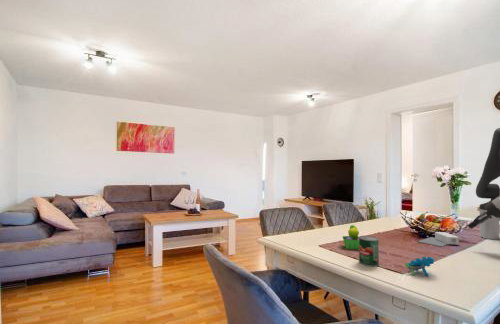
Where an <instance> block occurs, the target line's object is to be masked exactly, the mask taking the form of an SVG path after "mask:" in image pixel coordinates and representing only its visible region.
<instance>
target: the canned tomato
mask: <svg viewBox="0 0 500 324" xmlns="http://www.w3.org/2000/svg"><path fill="white" fill-rule="evenodd" d="M358 237H359V250H358V262H359V264H361V265H363V266H366V267H378V266H379V265H380V261H379V259H380V258H379V257H380V256H379V255H380V253H379V245H380V244H379V241H380V240H379V238H378V237H375V236H370V235H359V236H358Z"/></svg>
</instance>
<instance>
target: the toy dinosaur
mask: <svg viewBox="0 0 500 324" xmlns="http://www.w3.org/2000/svg"><path fill="white" fill-rule="evenodd" d="M434 262H435V259H434V258H433V257H432V256H427V257H426V256H422V257H421V258H419V257H417V258H415V259H414V260H410V262H405V263H404V264H405V267H406V268H407V269H408V270H409V271H411V273H412V275H413V276H416V274H415V271H419V270H422V272H423V274H424V275H425V277H429V275H430V274H429V273H428V271H427V270H426V267H427V268H428V267H431V265H433V264H434Z"/></svg>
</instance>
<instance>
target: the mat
mask: <svg viewBox="0 0 500 324" xmlns="http://www.w3.org/2000/svg"><path fill="white" fill-rule="evenodd" d="M417 243H421V244H426V245H431V246H434V247H435V246H436V247H438V248H439V247H440V248H442V247H445V246H448V245H449V244H446V243H444V242H441V241H439V240H437V239H435V237H433V236H430V237H426V238H424V239H420V240H417Z"/></svg>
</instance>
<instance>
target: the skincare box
mask: <svg viewBox="0 0 500 324" xmlns="http://www.w3.org/2000/svg"><path fill="white" fill-rule="evenodd" d="M434 238H435V239H437V240H439V241H441V242H444V243H446V244H448V245H457V246H459V245H460V237H459V236H458V235H457V236H456V235H454V234H451V233H448V232H443V231H441V232H440V231H434Z"/></svg>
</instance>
